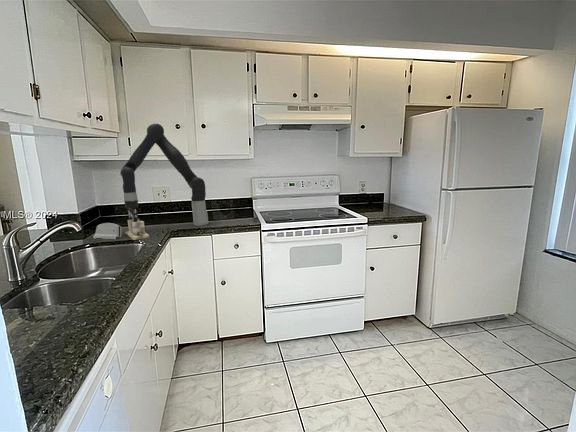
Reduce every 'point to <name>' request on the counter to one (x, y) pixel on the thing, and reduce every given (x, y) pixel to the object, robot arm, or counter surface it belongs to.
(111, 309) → the counter surface
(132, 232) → the cream upright block
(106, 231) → the grey rounded block
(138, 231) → the beige hat shape
